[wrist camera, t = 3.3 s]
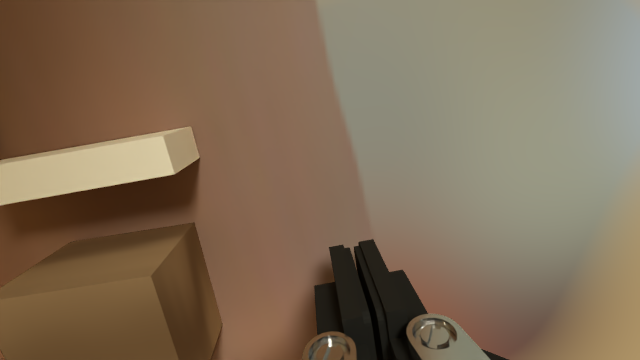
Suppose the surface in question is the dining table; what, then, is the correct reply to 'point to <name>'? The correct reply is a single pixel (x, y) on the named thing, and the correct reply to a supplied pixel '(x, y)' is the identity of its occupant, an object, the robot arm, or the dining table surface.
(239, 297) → the dining table surface
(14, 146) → the dining table surface
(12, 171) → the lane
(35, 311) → the walnut block
